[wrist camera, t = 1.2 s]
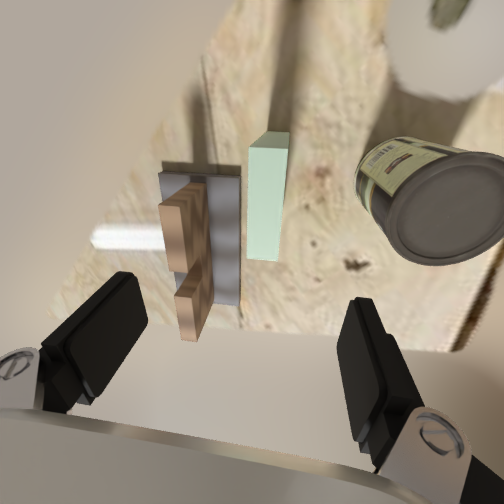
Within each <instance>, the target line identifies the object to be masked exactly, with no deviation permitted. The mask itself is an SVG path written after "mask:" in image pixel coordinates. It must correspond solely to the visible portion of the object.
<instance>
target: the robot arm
mask: <svg viewBox="0 0 504 504" xmlns="http://www.w3.org/2000/svg"><path fill="white" fill-rule="evenodd" d="M147 324H148V317H147V313H146V309H145V305H144V302H143V298H142V294H141V290H140V287H139V283H138V279H137V277H136V276H134V274H133V273H131V272H122V271H119V272H117V273H115V274H114V275H113V276H112V277H111V278H110V279H109V280H108V281H107V282H106V283H105V284H104V285H103V286H102V287H101V288H99V289H98V290H97V291H96V292H95V293H94V294H93V295H92V296H91V297H90V298H89V299H88V300H87V301H86V302H85V303H83V304H82V305H81V306H80V307H79V308H78V309H77V310H76V311H75V312H74V313H73V314H72V315H71V316H70V317H68V318H67V319H66V320H65V321H64V322H63V323H62V324H61V325H60V326H59V327H58V328H57V329H56V330H55V331H54V332H52V334H50V335H49V336H48V337H47V338H46V339H45V340H44V341H43V342H42V343H41V345H42V348H41V349H40V350H39V351H38V350H37V349H36V348H32V347H26V348H21V349H17V350H14V351H12V352H9V353H7V354H5V355H4V356H2V357H0V504H504V480H503V479H501V478H500V477H499V476H498V475H497V474H495V473H494V472H493V471H492V470H490V469H489V468H488V467H487V466H485V465H484V464H483V463H481V462H480V461H479V460H478V459H477V458H475V457H474V456H473V455H472V452H471V451H472V450H471V447H470V444H469V441H468V439H467V437H466V436H465V434H464V432H463V431H462V430H461V428H460V427H459V426H458V425H457V424H456V423H455V422H454V421H453V420H451V419H450V418H449V417H448V416H447V415H445V414H443V413H442V412H440V411H438V410H436V409H433V408H430V407H425V405H424V403H423V401H422V399H421V396H420V394H419V392H418V390H417V387H416V385H415V383H414V381H413V378H412V376H411V374H410V372H409V369H408V367H407V365H406V363H405V360H404V359H403V356H402V354H401V351H400V349H399V347H398V345H397V342H396V340H395V338H394V337H393V335H391V334H387V333H386V331H385V329H384V327H383V324H382V322H381V319H380V317H379V315H378V312H377V310H376V307H375V305H374V303H373V300H372V299H371V298H362V297H356V298H355V300H350V302H349V306H348V309H347V312H346V316H345V319H344V322H343V325H342V329H341V332H340V335H339V339H338V342H337V355H338V361H339V366H340V371H341V376H342V382H343V388H344V393H345V399H346V404H347V410H348V415H349V421H350V426H351V432H352V436H353V439H354V441H356V442H359V448H360V452H361V453H366V454H370V456H371V460H372V464H373V465H374V466H375V469H374V471H373V473H371V472H368V471H364V470H360V469H356V468H352V467H349V466H345V465H340V464H335V463H331V462H326V461H321V460H316V459H311V458H306V457H301V456H297V455H291V454H286V453H281V452H275V451H269V450H264V449H259V448H253V447H248V446H243V445H238V444H232V443H227V442H221V441H216V440H210V439H205V438H199V437H194V436H188V435H182V434H177V433H171V432H166V431H160V430H155V429H149V428H144V427H138V426H132V425H126V424H120V423H115V422H109V421H103V420H98V419H91V418H86V417H80V416H74V415H72V407H73V406H74V404H75V403H76V402H77V403H79V404H85V405H91V404H92V402H93V401H94V399H95V398H96V397H99V396H100V395H101V394H102V392H103V391H104V389H105V388H106V386H107V385H108V383H109V382H110V380H111V379H112V377H113V376H114V374H115V373H116V371H117V370H118V368H119V367H120V365H121V364H122V362H123V361H124V359H125V358H126V356H127V355H128V353H129V352H130V350H131V349H132V347H133V346H134V344H135V343H136V341H137V340H138V338H139V337H140V335H141V334H142V332H143V331H144V329H145V328H146V326H147Z"/></svg>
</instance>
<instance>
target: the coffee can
mask: <svg viewBox="0 0 504 504" xmlns="http://www.w3.org/2000/svg"><path fill="white" fill-rule="evenodd" d="M354 191H355V195H356V197H357V199H358V201H359V202H360V203H361V204H362V205H363V206H364V208H365V209H366V210H367V211H368V213H369V214H370V215H371V216H372V218H373V219H374V220H375V222H376V223H377V224H378V226H379V227H380V229H381V230H382V231H383V232H384V234H385V235H386V236H387V238H388V240H389V242H390V244H391V245H392V247H393V248H394V250H395V251H396V252H397V253H398V254H399V255H401V256H402V257H403V258H405V259H407V260H409V261H411V262H414V263H417V264H421V265H426V266H445V265H451V264H456V263H460V262H463V261H466V260H469V259H471V258H473V257H476V256H478V255H480V254H482V253H483V252H485V251H487V250H488V249H490V248H491V247H493V246H494V245H495V244H497V243H498V242H499V241H500V240H501V239H502V238H504V158H503V157H501V156H499V155H495V154H491V153H486V152H472V151H467V150H463V149H459V148H454V147H450V146H445V145H441V144H436V143H432V142H427V141H423V140H420V139H418V138H413V137H396V138H392V139H389V140H386V141H384V142H382V143H380V144H379V145H377V146H376V147H374V148H373V149H372V150H371V151H370V152H368V154H367V155H366V156H365V157H364V158H363V159H362V161H361V163H360V164H359V166H358V168H357V171H356V173H355V178H354Z"/></svg>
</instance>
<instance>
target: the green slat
mask: <svg viewBox="0 0 504 504" xmlns="http://www.w3.org/2000/svg"><path fill="white" fill-rule="evenodd" d="M289 135H290V132H272V131H267V132H266V133H264V134H263V135H262V136H261V137H260V138H259V139H258V140H256V141H255V142H254V143H253V144H252V145H251V146H249V159H248V213H247V258H248V259H259V260H269V261H278V252H279V242H280V231H281V220H282V210H283V199H284V188H285V178H286V167H287V157H288V146H289Z"/></svg>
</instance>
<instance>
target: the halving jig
mask: <svg viewBox="0 0 504 504" xmlns="http://www.w3.org/2000/svg"><path fill="white" fill-rule="evenodd" d="M158 176H159V183H160V189H161V195H162V201H163V202H162V203H160V204H159V205H158V208H159V214H160V219H161V225H162V231H163V237H164V242H165V248H166V254H167V260H168V265H169V271H173V272H174V275H175V281H176V287H177V292H176V293H175V295H174V300H175V306H176V311H177V317H178V323H179V329H180V334H181V340H185V341H192V342H197V340H198V338H199V336H200V333H201V331H202V328H203V326H204V324H205V321H206V319H207V316H208V314H209V311H210V309H211V306H212V304H213V303H215V304H223V305H232V306H239V304H240V248H241V176H233V175H217V174H200V173H184V172H167V171H162V172H160V173H158Z"/></svg>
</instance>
